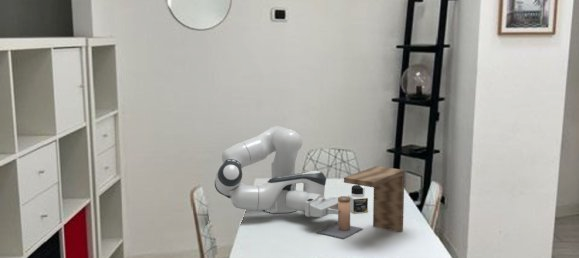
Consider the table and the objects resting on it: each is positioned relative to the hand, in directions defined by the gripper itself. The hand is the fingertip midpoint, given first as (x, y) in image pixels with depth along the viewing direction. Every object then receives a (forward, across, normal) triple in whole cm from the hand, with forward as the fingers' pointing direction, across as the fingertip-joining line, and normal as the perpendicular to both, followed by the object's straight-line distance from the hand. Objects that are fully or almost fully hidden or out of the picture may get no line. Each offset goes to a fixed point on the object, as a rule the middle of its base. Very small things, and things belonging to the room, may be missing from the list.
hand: (344, 209), depth 238 cm
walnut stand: (+14, -1, -9) cm, 16 cm away
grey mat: (-1, +2, -9) cm, 9 cm away
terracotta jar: (0, 0, -8) cm, 8 cm away
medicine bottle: (-10, -28, -9) cm, 31 cm away
